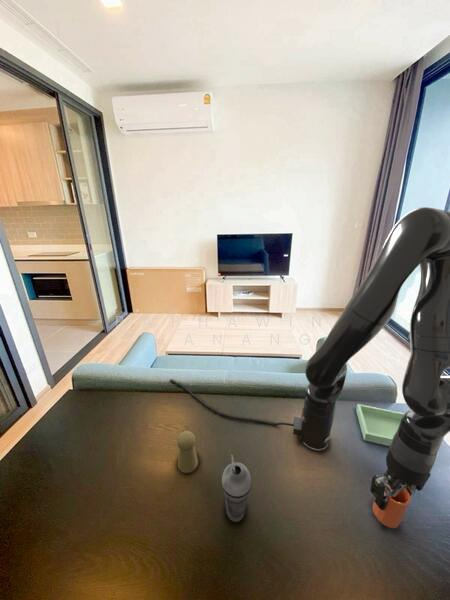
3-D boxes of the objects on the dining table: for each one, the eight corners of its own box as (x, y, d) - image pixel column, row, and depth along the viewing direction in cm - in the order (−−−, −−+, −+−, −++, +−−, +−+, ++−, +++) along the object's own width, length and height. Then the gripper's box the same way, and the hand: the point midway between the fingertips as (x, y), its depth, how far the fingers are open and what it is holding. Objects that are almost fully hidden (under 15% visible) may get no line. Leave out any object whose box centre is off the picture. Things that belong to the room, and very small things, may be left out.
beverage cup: (248, 532, 58) (251, 475, 51) (218, 524, 60) (217, 468, 53) (251, 498, 65) (254, 444, 58) (224, 492, 66) (224, 439, 59)
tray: (363, 440, 82) (365, 433, 81) (356, 410, 94) (357, 403, 93) (425, 454, 77) (428, 447, 76) (408, 421, 89) (411, 414, 88)
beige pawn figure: (201, 458, 76) (200, 432, 72) (191, 476, 70) (189, 449, 67) (185, 450, 78) (183, 424, 74) (173, 467, 73) (171, 440, 69)
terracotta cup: (375, 522, 60) (385, 499, 56) (370, 497, 65) (378, 474, 61) (403, 532, 58) (414, 509, 55) (395, 505, 63) (405, 482, 60)
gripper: (420, 434, 58) (401, 480, 65) (369, 445, 55) (354, 492, 62) (454, 464, 52) (429, 513, 58) (398, 479, 49) (377, 528, 55)
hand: (390, 502), depth 60 cm, fingers closed on terracotta cup, 6 cm apart
